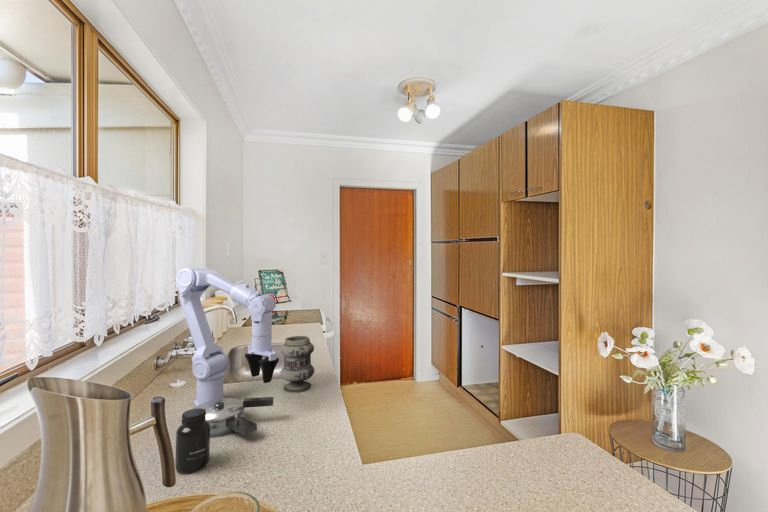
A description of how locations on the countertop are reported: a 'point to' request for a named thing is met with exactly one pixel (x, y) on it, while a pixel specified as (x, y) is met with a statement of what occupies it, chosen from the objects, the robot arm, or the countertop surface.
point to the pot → (232, 426)
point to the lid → (231, 407)
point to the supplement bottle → (192, 442)
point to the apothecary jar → (297, 363)
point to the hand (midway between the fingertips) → (261, 379)
